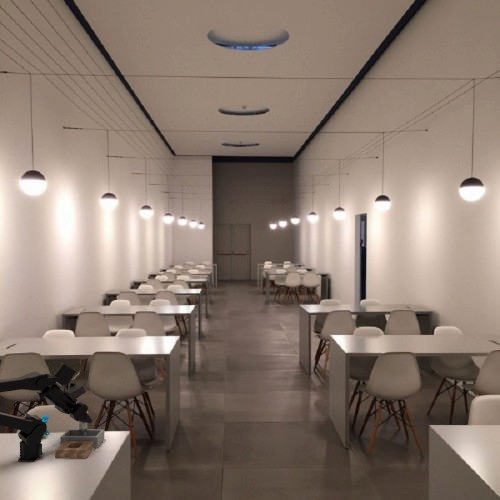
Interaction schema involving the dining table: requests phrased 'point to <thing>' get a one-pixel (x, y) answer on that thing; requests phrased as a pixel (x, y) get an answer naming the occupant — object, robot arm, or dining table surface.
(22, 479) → the dining table surface
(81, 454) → the wooden socket block
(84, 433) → the stop pin
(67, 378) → the robot arm
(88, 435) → the tray
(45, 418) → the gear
